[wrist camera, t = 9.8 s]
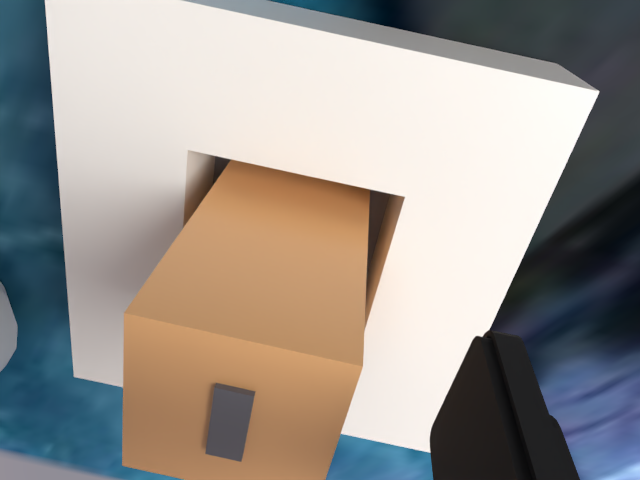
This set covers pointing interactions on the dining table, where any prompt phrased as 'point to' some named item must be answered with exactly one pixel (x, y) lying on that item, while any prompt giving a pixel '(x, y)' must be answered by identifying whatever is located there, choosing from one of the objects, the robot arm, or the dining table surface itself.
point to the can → (6, 329)
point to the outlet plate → (307, 167)
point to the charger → (250, 332)
